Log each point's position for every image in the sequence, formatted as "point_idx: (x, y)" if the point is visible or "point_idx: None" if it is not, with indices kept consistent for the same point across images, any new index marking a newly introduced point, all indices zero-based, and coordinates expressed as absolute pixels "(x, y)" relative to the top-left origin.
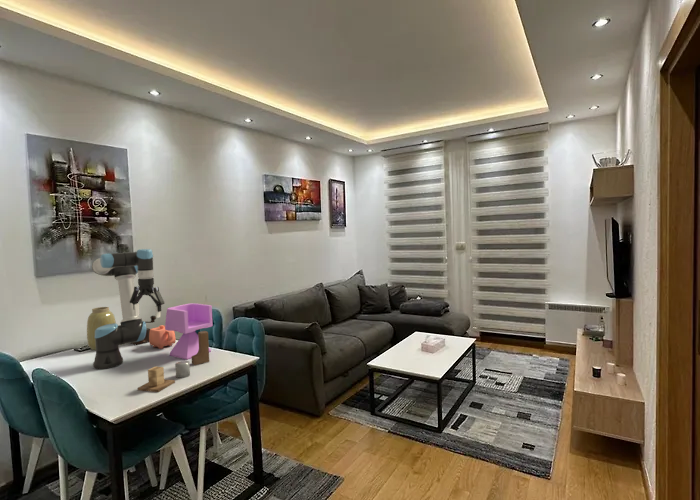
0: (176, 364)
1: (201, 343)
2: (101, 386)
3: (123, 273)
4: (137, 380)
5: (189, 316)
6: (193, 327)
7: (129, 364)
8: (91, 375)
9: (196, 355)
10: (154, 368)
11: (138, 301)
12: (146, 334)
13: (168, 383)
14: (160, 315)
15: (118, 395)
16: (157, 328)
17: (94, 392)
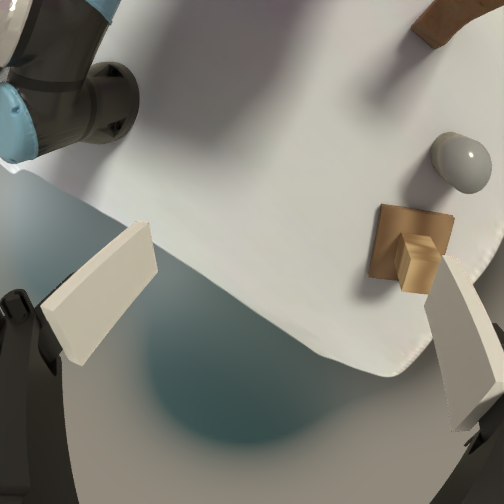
0: (455, 182)
1: (484, 13)
2: (236, 253)
3: None
4: (314, 203)
5: None
6: None
7: (162, 75)
8: (135, 184)
9: (441, 23)
10: (418, 277)
11: (33, 346)
12: None
13: (445, 243)
14: (461, 268)
15: (334, 302)
16: None
17: (253, 288)
